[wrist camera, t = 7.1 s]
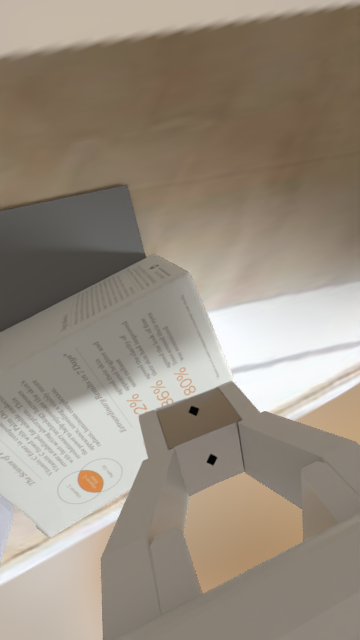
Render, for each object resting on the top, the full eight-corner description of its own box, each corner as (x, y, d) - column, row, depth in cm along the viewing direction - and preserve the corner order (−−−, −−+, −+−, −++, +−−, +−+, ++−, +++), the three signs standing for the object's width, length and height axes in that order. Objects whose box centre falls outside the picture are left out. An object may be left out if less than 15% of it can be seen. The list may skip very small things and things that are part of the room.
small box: (157, 250, 15) (-35, 344, 14) (193, 269, 10) (-107, 421, 9) (207, 363, 18) (58, 446, 17) (252, 420, 13) (46, 542, 12)
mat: (126, 185, 14) (127, 184, 13) (182, 406, 19) (183, 409, 19) (-190, 251, 11) (-199, 252, 11) (-20, 482, 17) (-23, 488, 16)
